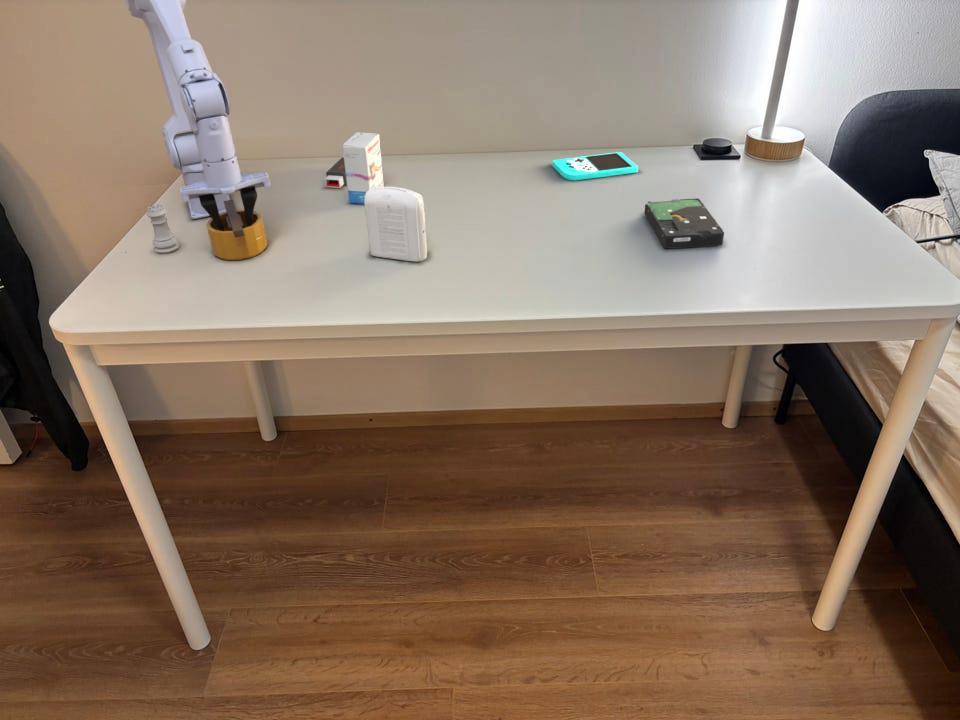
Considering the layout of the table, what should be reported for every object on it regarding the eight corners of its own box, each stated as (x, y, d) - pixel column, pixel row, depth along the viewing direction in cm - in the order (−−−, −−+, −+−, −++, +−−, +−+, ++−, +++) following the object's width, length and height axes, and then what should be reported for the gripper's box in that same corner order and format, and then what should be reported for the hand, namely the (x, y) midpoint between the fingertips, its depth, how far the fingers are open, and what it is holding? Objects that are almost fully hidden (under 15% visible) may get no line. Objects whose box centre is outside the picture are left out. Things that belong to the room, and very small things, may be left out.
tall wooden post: (227, 227, 137) (220, 201, 134) (241, 225, 137) (234, 198, 134) (237, 259, 126) (230, 231, 123) (252, 256, 127) (245, 228, 124)
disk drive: (723, 247, 127) (696, 210, 139) (726, 232, 126) (699, 196, 138) (664, 251, 127) (642, 213, 139) (665, 236, 125) (644, 200, 137)
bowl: (211, 243, 135) (203, 215, 132) (263, 233, 138) (257, 206, 134) (217, 265, 128) (209, 236, 124) (271, 254, 130) (265, 226, 127)
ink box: (372, 205, 147) (365, 146, 140) (348, 203, 147) (340, 145, 141) (385, 188, 153) (379, 131, 146) (362, 187, 154) (355, 130, 147)
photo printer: (431, 253, 129) (426, 185, 122) (422, 264, 126) (416, 195, 118) (377, 246, 132) (368, 180, 124) (367, 257, 128) (357, 190, 121)
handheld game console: (551, 164, 161) (551, 158, 160) (620, 156, 164) (620, 150, 163) (566, 181, 153) (567, 175, 152) (638, 172, 156) (639, 166, 155)
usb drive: (364, 168, 163) (363, 156, 162) (345, 189, 154) (343, 176, 152) (342, 167, 164) (340, 154, 163) (321, 187, 155) (319, 175, 153)
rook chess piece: (185, 245, 135) (173, 203, 130) (169, 256, 131) (156, 214, 127) (165, 242, 136) (152, 201, 131) (149, 252, 133) (135, 211, 128)
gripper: (174, 171, 118) (196, 248, 125) (266, 156, 122) (281, 232, 130) (171, 157, 123) (192, 232, 131) (259, 143, 127) (275, 217, 135)
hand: (236, 231), depth 131 cm, fingers open, 4 cm apart
